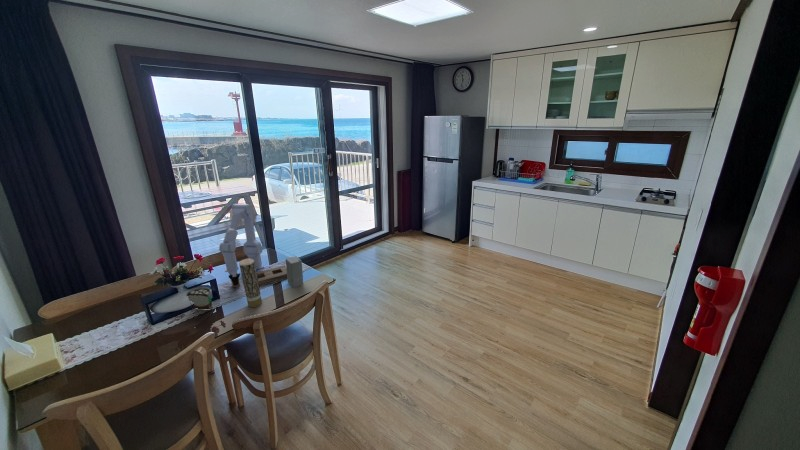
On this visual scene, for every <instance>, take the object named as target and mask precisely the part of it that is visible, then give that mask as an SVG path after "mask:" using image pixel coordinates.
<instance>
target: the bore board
mask: <svg viewBox="0 0 800 450" xmlns="http://www.w3.org/2000/svg"><path fill="white" fill-rule="evenodd" d="M256 273H257V278H258V283H259V287H260V286H264V285H268V284H271V283H274V282H278V281H281V280H286V279H287V268H286V264H284V265H280V266H276V267H273V268H269V269H265V270H261V271H256Z"/></svg>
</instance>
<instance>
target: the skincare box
mask: <svg viewBox="0 0 800 450" xmlns="http://www.w3.org/2000/svg"><path fill="white" fill-rule="evenodd" d="M285 266H286V268H287V278H286V279H287V283H288V285H290V286H291V287H292V288H296V287H298V286H302V285H304V277H303V276H304V275H303V261H302V260H301V259H300V257H298V256H296V255H293V256H290V257H287V258H285Z"/></svg>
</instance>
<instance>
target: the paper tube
mask: <svg viewBox="0 0 800 450" xmlns="http://www.w3.org/2000/svg"><path fill="white" fill-rule="evenodd" d="M238 265H239V269H240V274H241V275H240V276H241V278H242V284H243V288H244V292H245V293H244V294H245V297H246V301H247V305H248V307H250V308H257V307H259V306H260V305H261V304H262V303H263V302H262V301H263V300H262V296H261V289H260V286H259V283H258V278H257V273H256V272H257V269H256V268H255V263H254V259H248V258H245V259H242V260H240V261H239V264H238Z"/></svg>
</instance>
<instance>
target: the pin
mask: <svg viewBox="0 0 800 450" xmlns="http://www.w3.org/2000/svg"><path fill="white" fill-rule="evenodd" d="M236 274H239V273H238V272H237V273H236ZM229 275H232V274H229ZM230 281H231V287H232V288H238V287H240V286H241V283H240V281H239V284H238V285H236V286H234V284H233V282H232V280H231V279H230Z"/></svg>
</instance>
